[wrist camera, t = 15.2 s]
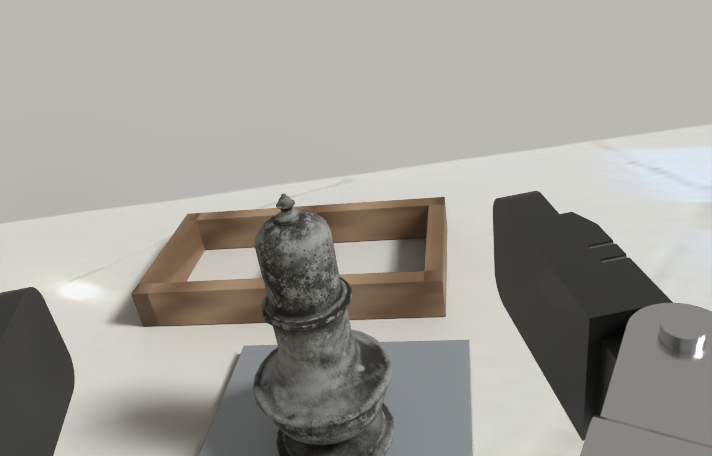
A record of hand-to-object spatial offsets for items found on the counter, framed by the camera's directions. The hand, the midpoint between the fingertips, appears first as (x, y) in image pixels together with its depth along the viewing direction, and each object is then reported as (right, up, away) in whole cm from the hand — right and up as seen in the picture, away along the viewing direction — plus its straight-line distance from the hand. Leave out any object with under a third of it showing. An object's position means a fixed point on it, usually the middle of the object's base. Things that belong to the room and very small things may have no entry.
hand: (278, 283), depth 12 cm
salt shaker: (0, -8, +18) cm, 20 cm away
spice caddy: (-2, -2, +30) cm, 30 cm away
